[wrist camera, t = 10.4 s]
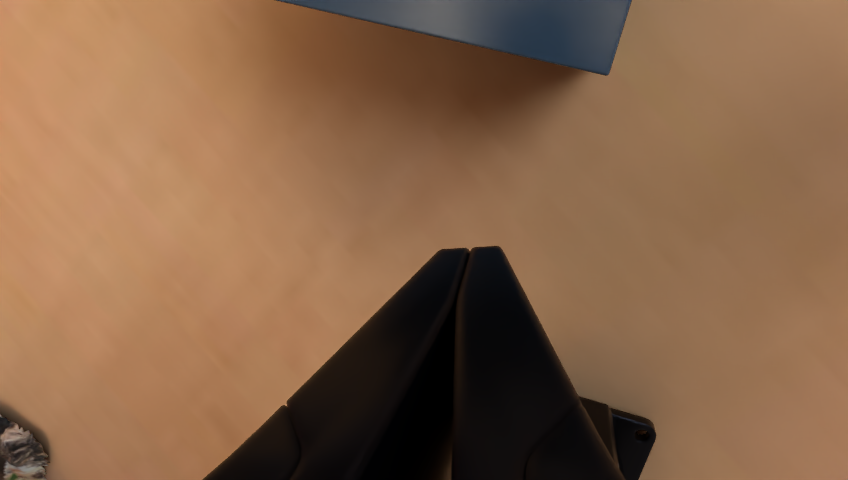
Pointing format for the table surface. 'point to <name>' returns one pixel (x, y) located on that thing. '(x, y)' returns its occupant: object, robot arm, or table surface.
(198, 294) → the table surface
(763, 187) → the table surface
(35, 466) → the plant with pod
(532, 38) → the push button box
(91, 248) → the table surface
